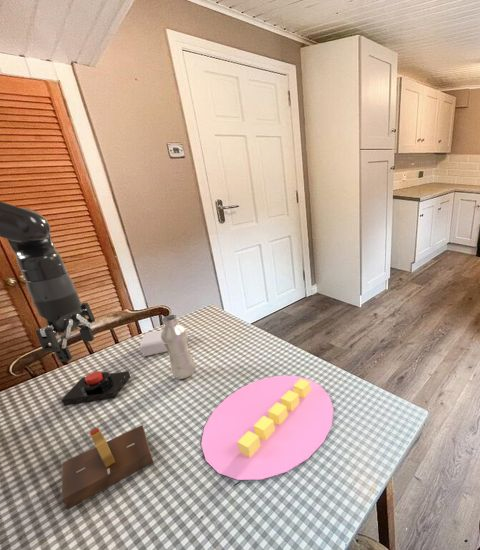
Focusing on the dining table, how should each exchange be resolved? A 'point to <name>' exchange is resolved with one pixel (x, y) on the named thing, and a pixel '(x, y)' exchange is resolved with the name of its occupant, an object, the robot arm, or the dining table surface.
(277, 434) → the platter
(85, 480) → the plate
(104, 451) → the lock knob
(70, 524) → the dining table surface
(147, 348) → the charger
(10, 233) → the robot arm
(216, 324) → the dining table surface
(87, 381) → the button
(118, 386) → the switch block
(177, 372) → the plastic bottle
